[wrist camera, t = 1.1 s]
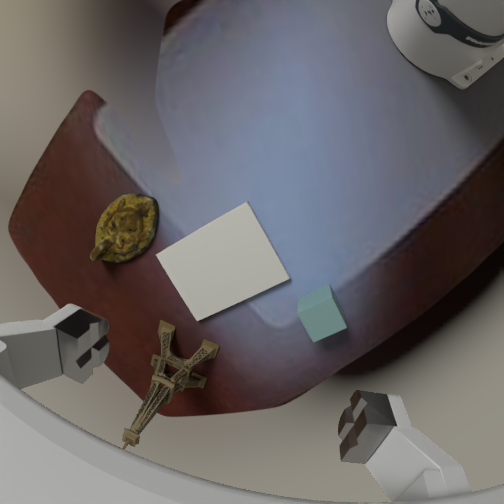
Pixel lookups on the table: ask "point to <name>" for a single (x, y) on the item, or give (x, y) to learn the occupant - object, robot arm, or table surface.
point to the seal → (125, 228)
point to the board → (223, 263)
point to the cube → (321, 313)
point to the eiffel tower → (168, 380)
